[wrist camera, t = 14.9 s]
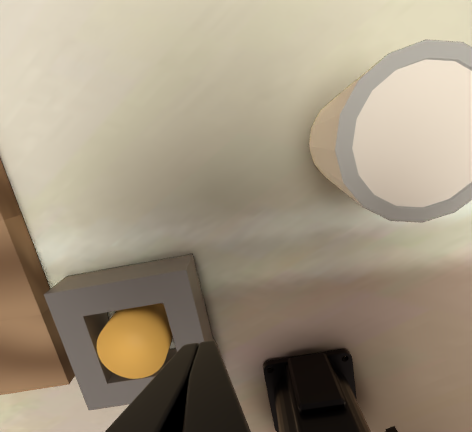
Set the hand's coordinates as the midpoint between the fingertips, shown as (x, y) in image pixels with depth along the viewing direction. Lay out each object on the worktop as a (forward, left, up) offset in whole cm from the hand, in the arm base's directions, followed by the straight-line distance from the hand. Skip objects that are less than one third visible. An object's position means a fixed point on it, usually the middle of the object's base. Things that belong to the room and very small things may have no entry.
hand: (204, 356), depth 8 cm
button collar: (-6, +7, -12) cm, 15 cm away
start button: (-6, +7, -12) cm, 15 cm away
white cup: (+4, -9, -12) cm, 16 cm away
